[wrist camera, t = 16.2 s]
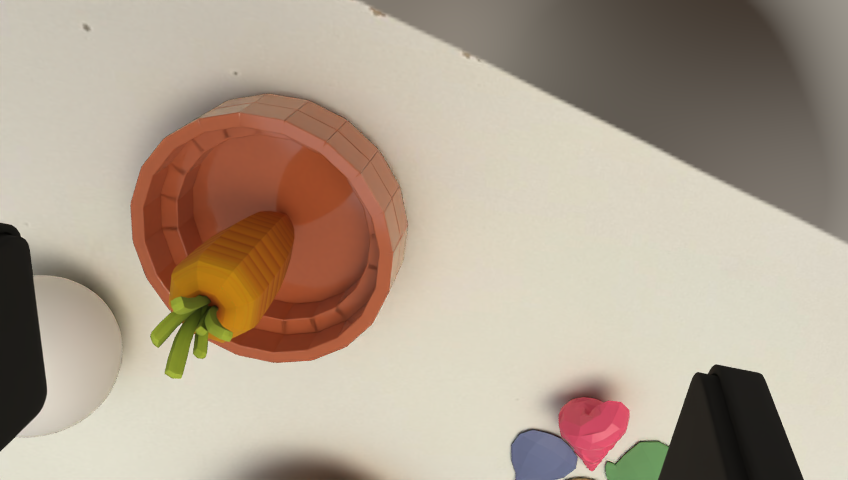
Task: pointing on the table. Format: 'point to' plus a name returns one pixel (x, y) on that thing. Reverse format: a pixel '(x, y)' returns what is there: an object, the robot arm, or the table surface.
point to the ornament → (73, 353)
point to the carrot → (226, 285)
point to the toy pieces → (586, 445)
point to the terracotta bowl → (286, 193)
